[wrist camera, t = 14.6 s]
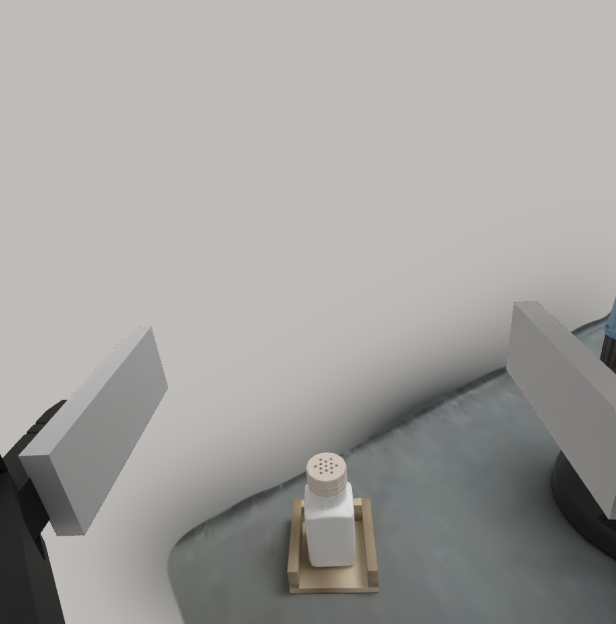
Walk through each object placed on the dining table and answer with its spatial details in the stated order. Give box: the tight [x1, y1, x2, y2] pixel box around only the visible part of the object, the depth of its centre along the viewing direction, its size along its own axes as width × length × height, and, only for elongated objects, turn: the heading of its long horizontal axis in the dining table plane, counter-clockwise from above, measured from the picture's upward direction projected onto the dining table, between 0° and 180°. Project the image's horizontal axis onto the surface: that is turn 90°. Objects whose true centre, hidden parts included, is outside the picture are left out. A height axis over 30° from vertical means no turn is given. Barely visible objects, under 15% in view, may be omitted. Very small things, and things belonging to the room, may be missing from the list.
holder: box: [287, 498, 378, 593], centre depth 38 cm, size 7×7×3 cm
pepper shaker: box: [304, 452, 356, 567], centre depth 37 cm, size 4×4×10 cm
